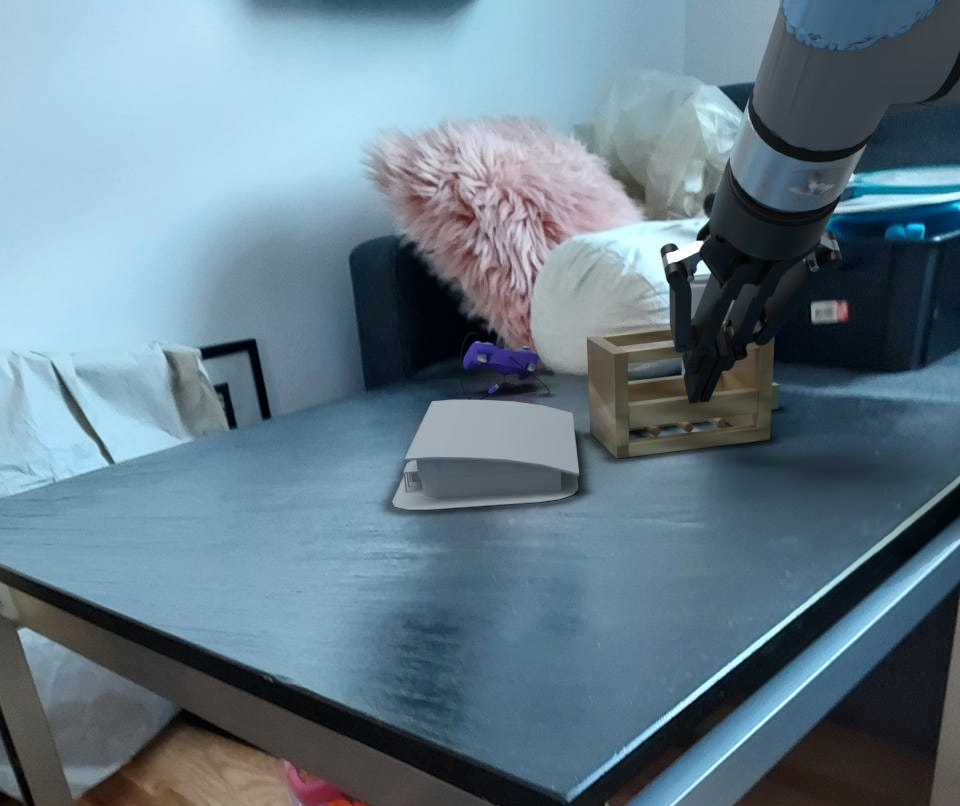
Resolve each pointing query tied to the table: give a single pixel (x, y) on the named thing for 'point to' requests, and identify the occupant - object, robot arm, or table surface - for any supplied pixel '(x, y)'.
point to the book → (489, 456)
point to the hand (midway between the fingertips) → (696, 389)
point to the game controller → (500, 362)
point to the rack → (673, 398)
